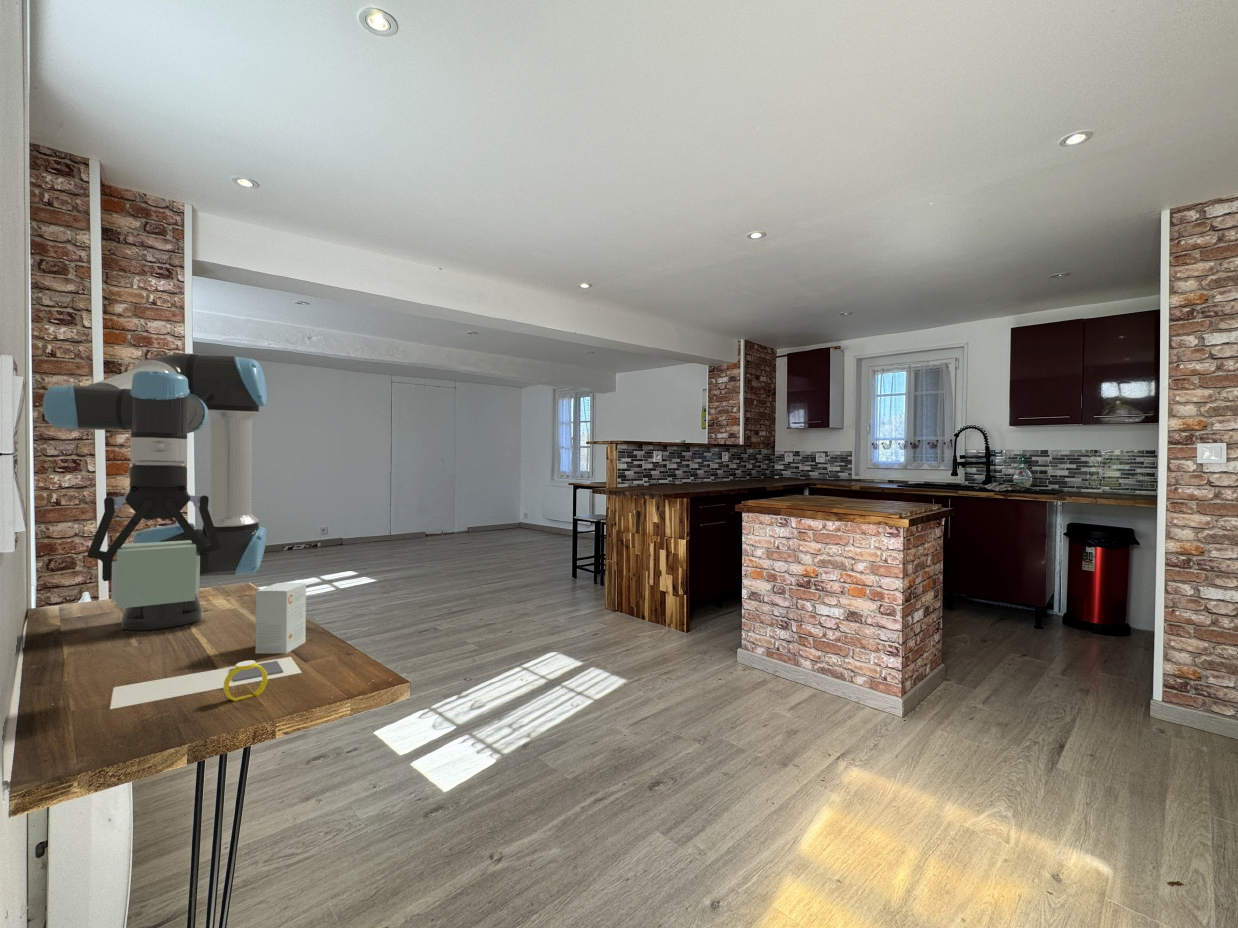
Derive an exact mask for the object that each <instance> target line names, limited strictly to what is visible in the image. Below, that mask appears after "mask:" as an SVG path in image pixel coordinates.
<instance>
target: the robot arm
mask: <svg viewBox="0 0 1238 928" xmlns="http://www.w3.org/2000/svg"><path fill="white" fill-rule="evenodd" d="M267 397H268V395H267V386H266V379H265V374H264V372H263V369H262V367H261V364H260V363H259V362H258V361H257V360H255V359H253V358H248V357H242V356H230V355H229V356H228V355H227V356H226V355H213V354H199V353H198V354H195V353H184V352H183V353H173V354H167V355H162V356H156V357H152V358H148V359H145V360H141V361H139V362H137V363H136V364H133V366H132V367H130V369H129V370H128V371H126V372H122V373H120V374H116V375H114V376H111V377H108V378H106V379H102V380H100V381H96V382H94V383H92V384H88V385H82V386H79V385H73V384H69V385H53V386H51V387H49V388H48V389H47V390H46V392H45V393H44V397H43V400H42V409H43V410H42V411H43V414H44V418H45V420H46V422H47V423H48V424H50V425H51V427H54V428H58V429H67V430H68V429H70V430H74V431H78V430H88V431H89V430H94V431H95V430H96V431H98V430H99V431H101V430H103V431H130V455H129V456H130V458H129V459H130V461H131V462H134V464H133V465H131V467H130V468H129V491H128V493H127V495H125V496H114V497H113V496H107V497H105V498H104V500H103V506H104V507H103V508H104V512H103V515H102V517H101V519H100V523H99V524H98V527H97V529H96V532H95V534H94V537H93V539H92V542H91V544H90V546H89V549H88V552H87V554H86V555H87V558H89V559H95V560H100V561H101V563H102V570H101V573H102V574H101V576H102V577H101V578H102V580H103V582H109V581H110V582H111V586H110V587H111V592H110V593H111V594H110V596H111V598H110V602H111V603H116V582H117V558H116V559H115V558H114V557H115V556H116V555H117V550H118V548H121V546H122V545H123V544H125V542H126V541H127V539H129V537H130V536H131V534H132V533H133V532H134V530H135V529H136V528H137V526H138V525H139V524H140V522H142V520H146V521H153V520H157V519H161V520H170V519H173V518H174V520H175V521H176V523H178V524H172V525H171V524H169V525H163V526H157V527H151V528H145V529H142V530H139V531H137V532H136V533H135V534H134V535H133V538H132V540H133V541H132V544H133V543H151V542H169V541H188V540H191V541H192V543H193V544H195V545H196V591H195V600H194V601H185V602H176V603H166V604H157V605H148V606H139V607H129V608H124V611H123V614H122V616H121V621H120V622H121V624H120V627H121V629H123V630H128V631H154V630H161V629H170V628H175V627H182V626H185V625H189V624H192V623H195V622H197V621H199V620H201V619H202V612H203V611H202V607H201V604H200V601H199V599H198V597H197V594H200V585H201V584H200V579H201V577H202V578H203V577H218V576H220V577H221V576H223V577H224V576H236V577H237V576H239V575H240V576H241V575H250V574H254V573H256V572H258V570H259V568H260V567H261V563H262V561H263V556H264V553H265V549H266V542H267V529H266V528H265V527H262V526H260V523H259V522H260V521H259V519H258V518H257V517H256V516H255V515H253V511H252V510H253V508H252V505H253V504H252V502H253V501H252V500H253V499H252V497H253V496H252V495H253V492H252V491H253V490H252V489H253V486H252V485H253V482H252V480H253V479H252V478H253V476H252V475H253V468H252V467H253V461H252V460H253V459H252V457H253V455H252V453H253V452H252V451H253V440H252V438H253V422H252V421H253V419H254V418H255V417H256V416H257V415H258V414H260V407H264V406H266V405H267V399H268V398H267ZM208 421H209V425H210V426H209V432H210V433H209V450H210V451H209V454H210V455H209V458H210V459H209V463H210V464H209V466H210V467H209V468H210V469H209V471H210V472H209V473H210V474H209V479H210V480H209V483H210V485H209V487H210V488H209V490H210V494H209V495H210V497H209V496H207V495H206V494H202V495H201V494H200V495H193V494H192V495H190V494H189V492H188V490H187V489H188V488H187V487H188V486H187V484H188V482H187V480H188V478H187V477H188V467H186V465H183V463H186V462H188V434H190V433H195V432H197V431H199V430H201V429H202V428H203V427H205V425H206V424H207V422H208ZM209 499H210V500H209ZM209 501H210V502H209ZM189 502H191V503H192V504H193V506H194V508H198V512H199V515H200V518H201V520H202V528H196V526H195V524H194V523H192V522H191V523H190V522H189V521H188V520H187V518H186V517H185V515H183V513H182V512H181V511H182V510H183V508H185V506H186V505H187V504H188V503H189ZM209 503H210V505H209ZM123 504H127V505H128V506H129V507H130V508H131V509H132V510H133V511H134V513H133V515H132V517H131V518H130V519H129V520H128V522H127V523H126V525H124V528H122V530H121V531H120V533H119V534H118V535H117V536H116V538H115V539H114V541H112V543H111V544H110V546H109V547H108V548H107V550H106V551H103V550H101V548H102V545H103V543H104V540H105V538H106V535H107V533H108V532H109V531H108V530H109V528H110V526H111V523H112V521H113V518H114V515H115V513H116V511H118V510H120V509H121V508H122V505H123ZM209 507H210V510H209Z"/></svg>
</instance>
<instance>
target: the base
mask: <svg viewBox="0 0 1238 928" xmlns="http://www.w3.org/2000/svg"><path fill="white" fill-rule="evenodd" d="M256 664H258V665H260V666H262V667H263V668H264V670H265V671H266V672H267V680H272V679H277V678H282V677H287V676H292V675H297V674H302V673H303V672H302V671H301V669H300V668H299V666H298V665H297V664H296V662H295V660H294V659H293V658H292V656H287V657H282V658H276V659H269V660H264V661H258V662H256ZM234 668H236V665H235V666H230V667H223V668H219V669H213V670H205V671H201V672H194V673H190V674H189V673H188V674H184V675H183V674H182V675H178V676H172V677H166V678H165V677H164V678H160V679H155V680H148V681H143V682H138V683H131V684H127V685H126V684H125V685H120V686H114V687H113V690H112V695H111V701H110V707H109V710H114V709H120V708H124V707H129V706H134V705H140V704H145V703H150V702H151V703H152V702H156V701H161V700H168V699H171V698H177V697H182V696H186V695H193V694H198V693H202V692H209V691H213V690H219V689H223V688H224V681H225V679H226V677H227V675H228V674H229V672H230V671H232V670H233V669H234ZM256 682H262V672H261V671H260V669H259V668H256V667H253V668H251V669H247V670H240V671H239V672H237V673H236V674H235V675H234V676H233V678H232V679H231V681H230V682H229V688H230V687H235V686H239V685H245V684H249V683H256Z"/></svg>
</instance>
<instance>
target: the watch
mask: <svg viewBox="0 0 1238 928" xmlns="http://www.w3.org/2000/svg"><path fill="white" fill-rule="evenodd" d="M256 663H257V662H256V660H252V659H251V660H244V661H239V662H237V663H236V664H235V666H236V668H234V669H233V670H232V671H230V672H229V674H228V675H227V677H226V679H225V681H224V688H222V689H223V692H224V694H225V696H226V697H227V698H228V699H229V700H232V701H233V702H237V701H240V700H245V699H247V698H251V697H255V696H259V695H261V694H262V692H263V691H264V690H265V688H266V685H267V684H268V680H269V679H267V672H266V671H265V670H264V668H263V667H262V666H260V665H258V664H256ZM253 667H256V668H259V669H260V671H261V672H262V681H260V684H259V687H258V688H257V689H256V690H255V691H254V692H253V693H252V694H251V693H250V694H246V695H242V696H237V697H235V696H233V695H231V692H230V691H229V690H230V687H229V682H230V681H231V679H232V678H233V676H234V675H235V674H236V673H237V672H239V671H240V670H247V669H251V668H253Z"/></svg>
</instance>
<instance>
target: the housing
mask: <svg viewBox="0 0 1238 928" xmlns="http://www.w3.org/2000/svg"><path fill="white" fill-rule="evenodd" d="M116 559H117V582H116V602H115V609H116V610H117V609H125V608H129V607H139V606H148V605H157V604H166V603H176V602H185V601H194V600H195V591H196V545H195V544H193V543H192V541H191V540H188V541H169V542H151V543H133V542H132V543H124V544H123V545H122V546H121V548H118V550H117V553H116Z"/></svg>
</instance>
